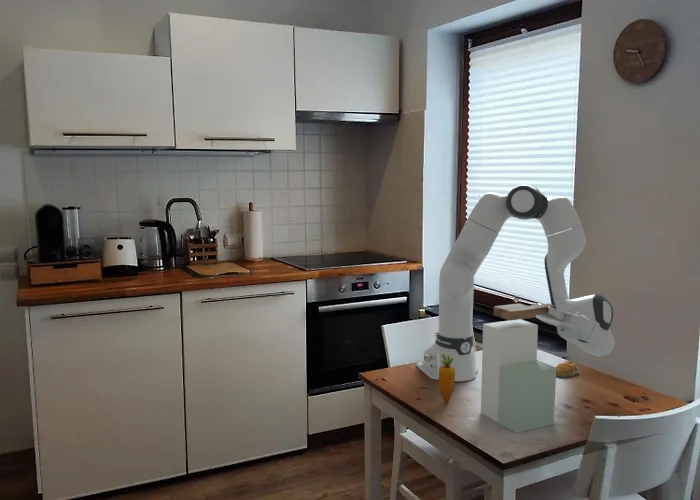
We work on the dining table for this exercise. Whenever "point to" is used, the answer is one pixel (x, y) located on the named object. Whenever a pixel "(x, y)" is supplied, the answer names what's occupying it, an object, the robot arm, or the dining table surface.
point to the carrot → (446, 379)
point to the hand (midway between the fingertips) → (542, 307)
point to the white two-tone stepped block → (516, 377)
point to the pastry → (566, 369)
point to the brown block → (520, 311)
